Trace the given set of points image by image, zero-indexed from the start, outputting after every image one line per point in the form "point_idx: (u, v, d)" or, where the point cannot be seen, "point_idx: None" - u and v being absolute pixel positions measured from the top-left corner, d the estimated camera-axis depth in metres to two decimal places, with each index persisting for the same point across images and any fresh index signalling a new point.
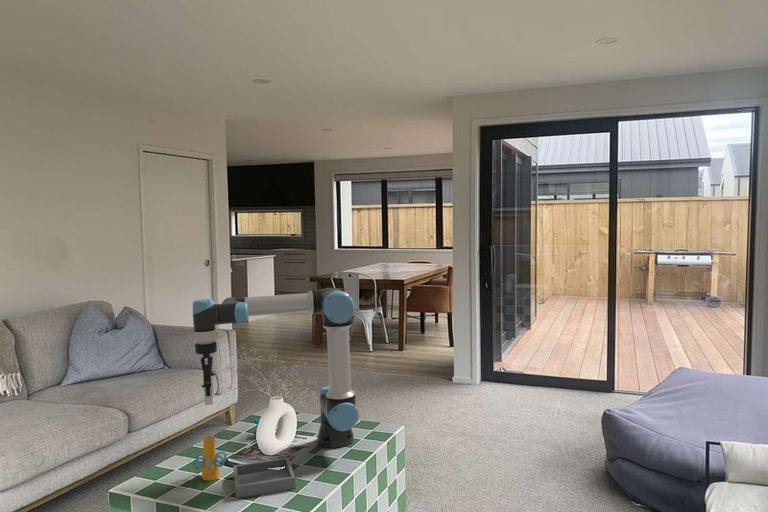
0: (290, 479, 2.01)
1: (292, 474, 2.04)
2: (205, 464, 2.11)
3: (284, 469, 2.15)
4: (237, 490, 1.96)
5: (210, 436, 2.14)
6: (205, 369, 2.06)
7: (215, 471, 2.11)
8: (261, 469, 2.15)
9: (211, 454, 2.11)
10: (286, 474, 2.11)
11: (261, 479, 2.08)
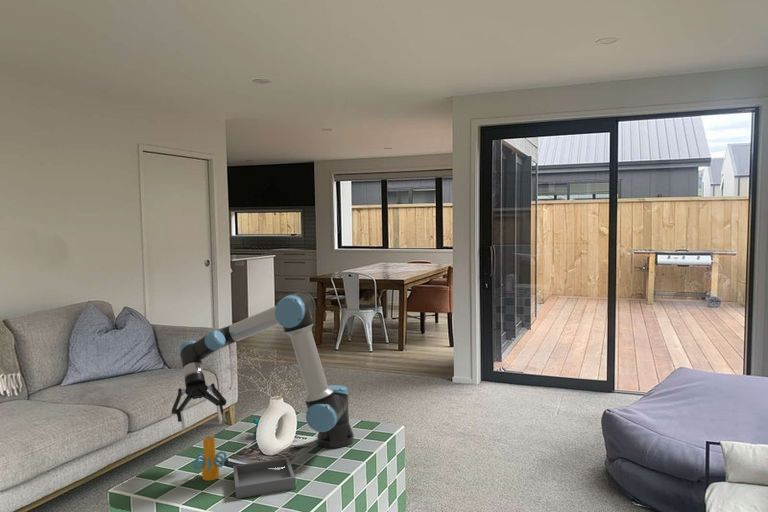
0: (290, 479, 2.01)
1: (292, 474, 2.04)
2: (205, 464, 2.11)
3: (284, 469, 2.15)
4: (237, 490, 1.96)
5: (210, 436, 2.14)
6: None
7: (215, 471, 2.11)
8: (261, 469, 2.15)
9: (211, 454, 2.11)
10: (286, 474, 2.11)
11: (261, 479, 2.08)
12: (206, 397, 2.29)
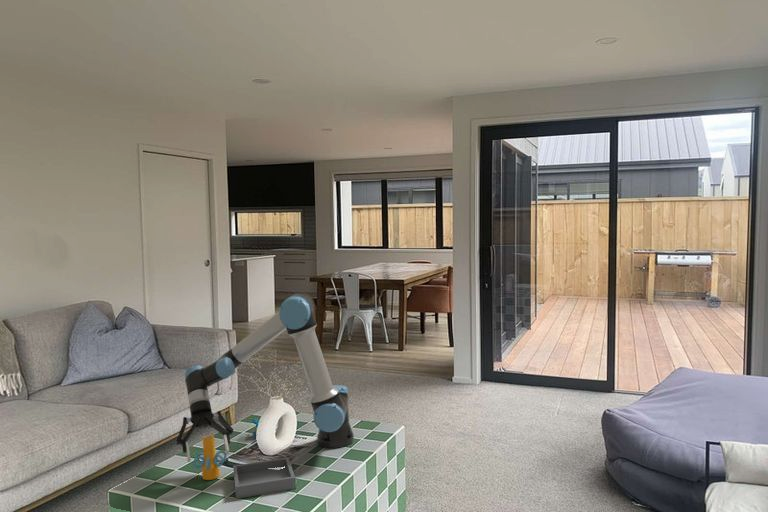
0: (290, 479, 2.01)
1: (292, 474, 2.04)
2: (205, 463, 2.11)
3: (284, 469, 2.15)
4: (237, 490, 1.96)
5: (210, 435, 2.14)
6: None
7: (215, 470, 2.11)
8: (261, 469, 2.15)
9: (210, 453, 2.11)
10: (286, 474, 2.11)
11: (261, 479, 2.08)
12: (212, 426, 2.20)
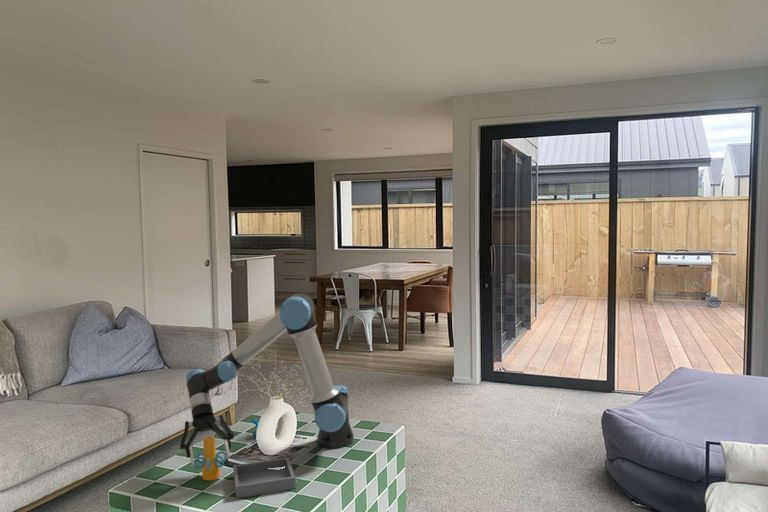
0: (290, 479, 2.01)
1: (292, 474, 2.04)
2: (205, 464, 2.11)
3: (284, 469, 2.15)
4: (237, 490, 1.96)
5: (210, 436, 2.14)
6: (184, 432, 2.15)
7: (215, 471, 2.11)
8: (261, 469, 2.15)
9: (211, 454, 2.11)
10: (286, 474, 2.11)
11: (261, 479, 2.08)
12: (213, 430, 2.19)
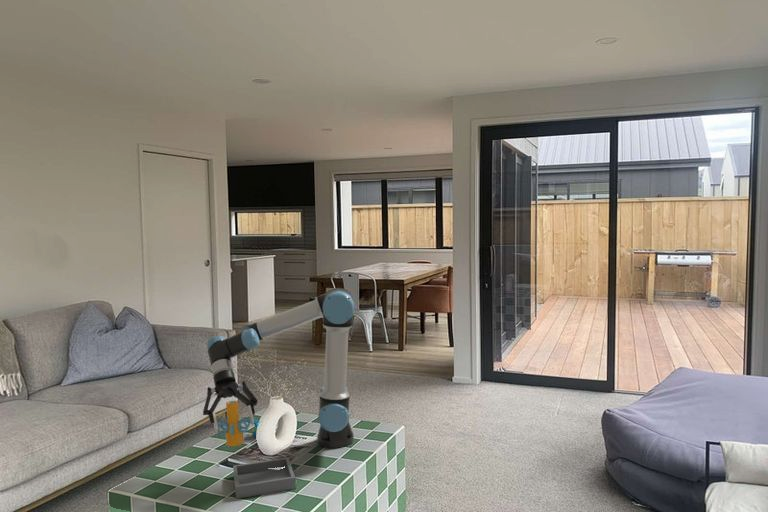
0: (290, 479, 2.01)
1: (292, 474, 2.04)
2: (229, 430, 2.07)
3: (284, 469, 2.15)
4: (237, 490, 1.96)
5: (233, 402, 2.09)
6: None
7: (239, 437, 2.07)
8: (261, 469, 2.15)
9: (234, 419, 2.07)
10: (286, 474, 2.11)
11: (261, 479, 2.08)
12: (236, 396, 2.15)
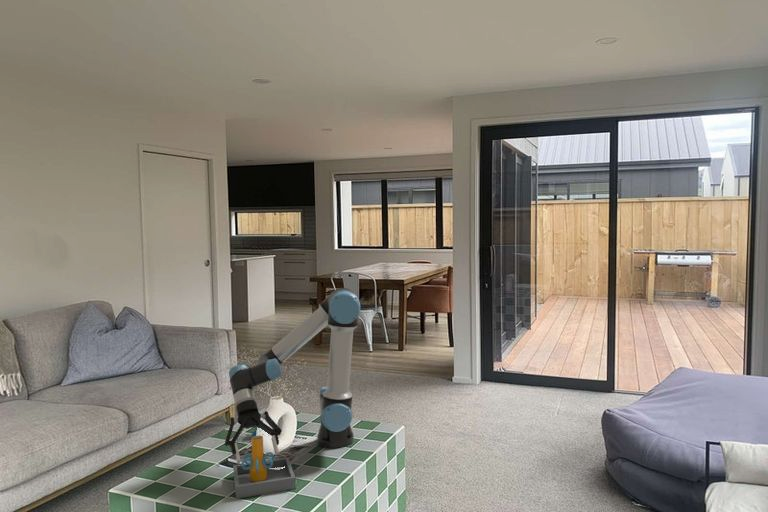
0: (290, 479, 2.01)
1: (292, 474, 2.04)
2: (253, 465, 2.06)
3: (284, 469, 2.15)
4: (237, 490, 1.96)
5: (258, 436, 2.09)
6: None
7: (263, 472, 2.06)
8: None
9: (259, 455, 2.06)
10: (286, 474, 2.11)
11: None
12: (260, 426, 2.14)
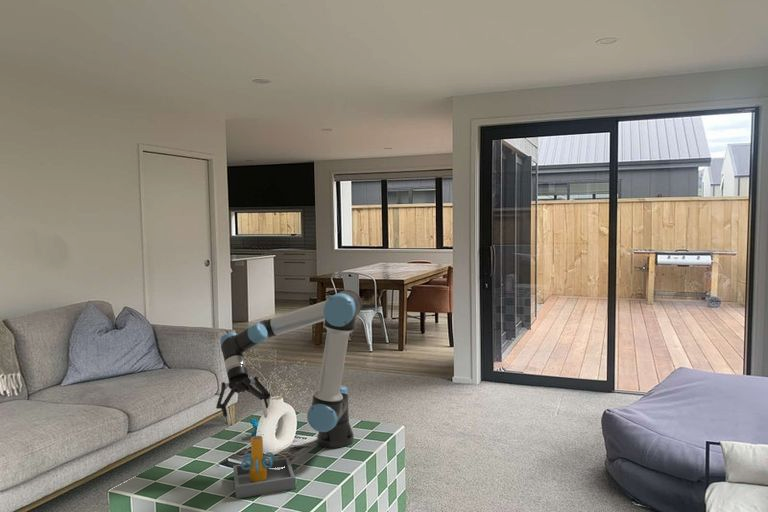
0: (290, 479, 2.01)
1: (292, 474, 2.04)
2: (253, 465, 2.06)
3: (284, 469, 2.15)
4: (237, 490, 1.96)
5: (258, 437, 2.09)
6: None
7: (263, 473, 2.06)
8: None
9: (259, 455, 2.06)
10: (286, 474, 2.11)
11: None
12: (250, 391, 2.25)
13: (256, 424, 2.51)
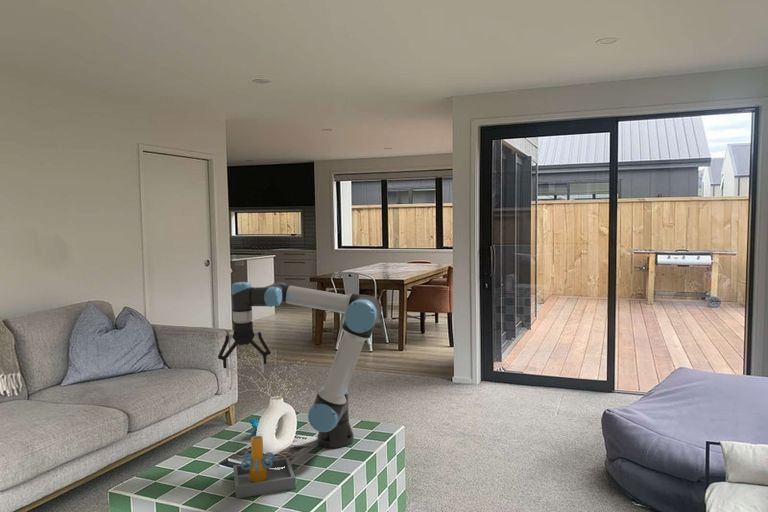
0: (290, 479, 2.01)
1: (292, 474, 2.04)
2: (253, 465, 2.06)
3: (284, 469, 2.15)
4: (237, 490, 1.96)
5: (258, 437, 2.09)
6: None
7: (263, 473, 2.06)
8: None
9: (259, 455, 2.06)
10: (286, 474, 2.11)
11: None
12: None
13: (255, 424, 2.51)
